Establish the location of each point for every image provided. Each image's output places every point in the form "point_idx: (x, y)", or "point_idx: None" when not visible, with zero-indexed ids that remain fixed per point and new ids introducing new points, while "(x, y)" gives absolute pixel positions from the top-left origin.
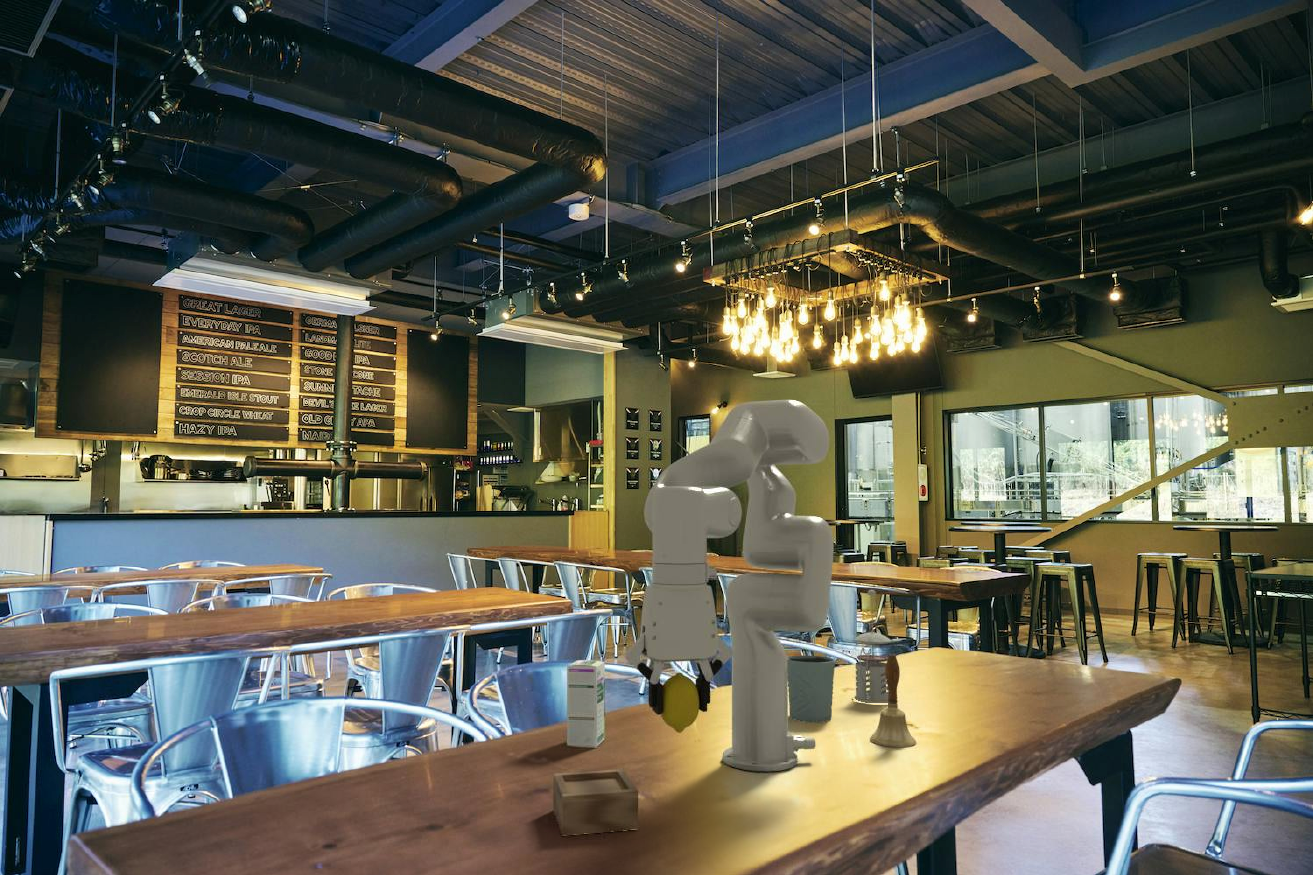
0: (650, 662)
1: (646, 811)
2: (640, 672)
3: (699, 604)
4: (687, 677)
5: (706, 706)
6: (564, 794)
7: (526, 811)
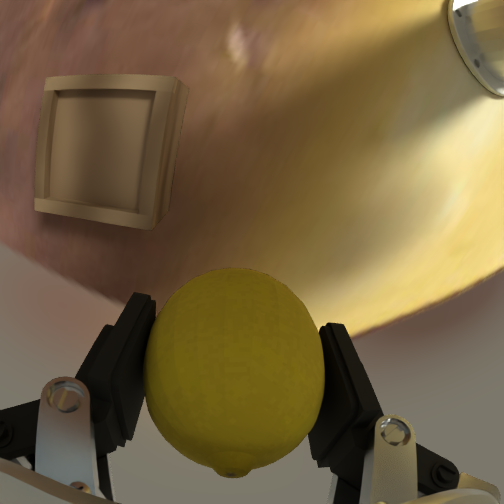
0: (41, 466)
1: (216, 133)
2: (15, 413)
3: None
4: (271, 461)
5: None
6: (37, 201)
7: None
